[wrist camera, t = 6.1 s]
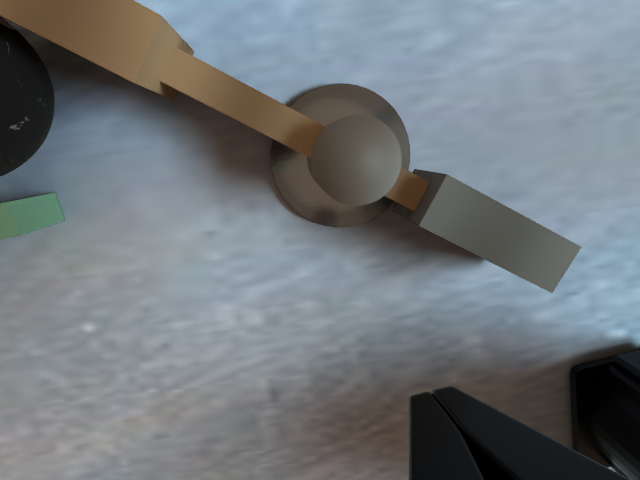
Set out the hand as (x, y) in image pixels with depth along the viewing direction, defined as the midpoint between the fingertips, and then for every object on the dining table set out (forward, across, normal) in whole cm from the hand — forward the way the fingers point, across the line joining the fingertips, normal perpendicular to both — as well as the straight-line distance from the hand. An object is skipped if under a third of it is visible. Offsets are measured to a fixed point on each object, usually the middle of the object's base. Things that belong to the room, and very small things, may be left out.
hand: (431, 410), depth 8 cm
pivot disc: (+11, -1, -4) cm, 12 cm away
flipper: (+11, +1, -5) cm, 12 cm away
